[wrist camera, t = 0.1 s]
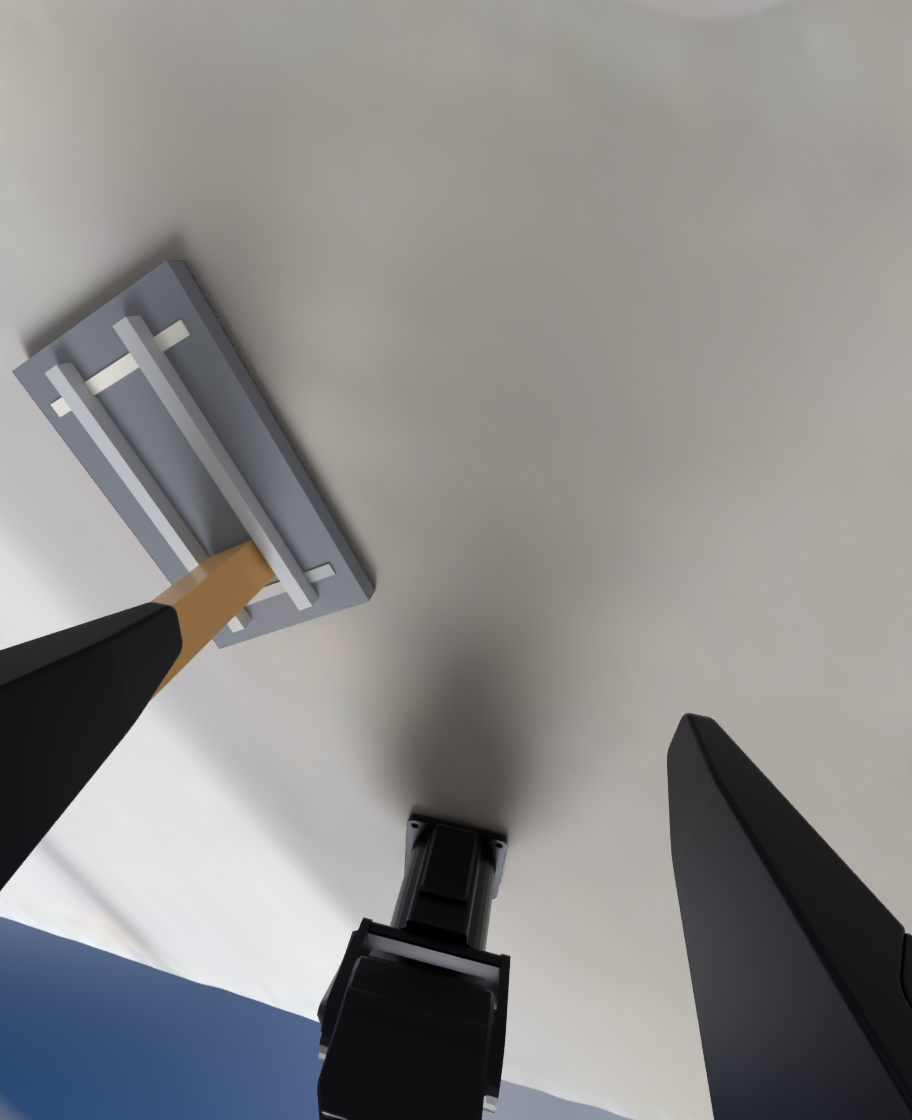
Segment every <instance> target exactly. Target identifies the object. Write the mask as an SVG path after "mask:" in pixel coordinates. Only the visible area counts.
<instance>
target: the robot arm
mask: <svg viewBox="0 0 912 1120" xmlns="http://www.w3.org/2000/svg"><path fill="white" fill-rule="evenodd" d="M182 646H183V639H182V634H181V629H180V624H179V619H178V614H177V611H176V609H175V608H174V607H172V606H171V605H166V604H161V603H157V602H149V603H145V604H142V605H139V606H136V607H133V608H130V609H127V610H124V611H121V612H118V613H114V614H111V615H108V616H105V617H102V618H99V619H96V620H93V621H90V622H87V623H83V624H80V625H77V626H74V627H71V628H68V629H65V630H62V631H59V632H56V633H52V634H49V635H46V636H43V637H40V638H37V639H34V640H31V641H28V642H25V643H21V644H18V645H15V646H12V647H9V648H6V649H3V650H0V891H1V890H2V888H3V887H4V886H5V885H6V883H7V882H8V881H9V880H10V878H11V877H12V876H13V875H14V873H15V872H16V871H17V870H18V868H19V867H20V866H21V865H22V863H23V862H24V861H25V860H26V859H27V857H28V856H29V855H30V854H31V852H32V851H33V850H34V849H35V847H36V846H37V845H38V844H39V842H40V841H41V840H42V839H43V837H44V836H45V835H46V834H47V832H48V831H49V830H50V829H51V827H52V826H53V825H54V824H55V822H56V821H57V820H58V819H59V817H60V816H61V815H62V814H63V812H64V811H65V810H66V809H67V807H68V806H69V805H70V804H71V802H72V801H73V800H74V799H75V797H76V796H77V795H78V794H79V792H80V791H81V790H82V789H83V788H84V786H85V785H86V784H87V783H88V781H89V780H90V779H91V778H92V776H93V775H94V774H95V773H96V771H97V770H98V769H99V768H100V766H101V765H102V764H103V763H104V761H105V760H106V759H107V758H108V756H109V755H110V754H111V753H112V751H113V750H114V749H115V748H116V746H117V745H118V744H119V743H120V741H121V740H122V739H123V738H124V736H125V735H126V734H127V732H128V731H129V730H130V729H131V727H132V726H133V725H134V723H135V722H136V720H137V719H138V717H139V716H140V715H141V713H142V712H143V710H144V709H145V707H146V706H147V704H148V702H149V701H150V699H151V698H152V696H153V695H154V693H155V692H156V690H157V689H158V687H159V686H160V684H161V683H162V681H163V680H164V678H165V677H166V675H167V673H168V672H169V670H170V669H171V667H172V666H173V664H174V663H175V661H176V660H177V658H178V657H179V655H180V653H181V650H182ZM667 775H668V796H669V817H670V839H671V853H672V861H673V868H674V875H675V881H676V887H677V893H678V899H679V906H680V912H681V918H682V924H683V930H684V937H685V943H686V949H687V955H688V961H689V967H690V974H691V980H692V986H693V992H694V998H695V1004H696V1011H697V1017H698V1023H699V1029H700V1035H701V1042H702V1048H703V1054H704V1060H705V1066H706V1072H707V1079H708V1085H709V1091H710V1097H711V1103H712V1109H713V1116H714V1120H912V935H911V934H908V933H905V929H904V927H903V926H902V924H901V923H900V922H899V921H898V920H897V919H896V918H895V917H894V916H893V915H892V914H891V912H890V911H889V910H888V909H887V908H886V907H885V906H884V905H883V904H882V903H881V901H880V900H879V899H878V898H877V897H876V896H875V895H874V894H873V893H872V892H871V891H870V889H869V888H868V887H867V886H866V885H865V884H864V883H863V882H862V881H861V880H860V879H859V877H858V876H857V875H856V874H855V873H854V872H853V871H852V870H851V869H850V868H849V867H848V865H847V864H846V863H845V862H844V861H843V860H842V859H841V858H840V857H839V856H838V855H837V853H836V852H835V851H834V850H833V849H832V848H831V847H830V846H829V845H828V844H827V842H826V841H825V840H824V839H823V838H822V837H821V836H820V835H819V834H818V833H817V832H816V830H815V829H814V828H813V827H812V826H811V825H810V824H809V823H808V822H807V821H806V820H805V818H804V817H803V816H802V815H801V814H800V813H799V812H798V811H797V810H796V809H795V808H794V806H793V805H792V804H791V803H790V802H789V801H788V800H787V799H786V798H785V797H784V796H783V794H782V793H781V792H780V791H779V790H778V789H777V788H776V787H775V786H774V785H773V783H772V782H771V781H770V780H769V779H768V778H767V777H766V776H765V775H764V774H763V773H762V771H761V770H760V769H759V768H758V767H757V766H756V765H755V764H754V763H753V762H752V761H751V759H750V758H749V757H748V756H747V755H746V754H745V753H744V752H743V751H742V750H741V749H740V747H739V746H738V745H737V744H736V743H735V742H734V741H733V740H732V739H731V738H730V737H729V735H728V734H727V733H726V732H725V731H724V730H723V729H722V728H721V727H720V726H719V725H718V723H717V722H716V721H715V720H713V719H712V718H710V717H706V716H702V715H697V714H692V713H687V714H684V716H683V717H682V718H681V720H680V722H679V725H678V727H677V730H676V732H675V734H674V737H673V739H672V741H671V744H670V746H669V749H668V754H667ZM507 843H508V840H507V838H506V837H504V836H502V835H499V834H494V833H490V832H486V831H482V830H477V829H473V828H469V827H465V826H460V825H456V824H452V823H447V822H443V821H439V820H435V819H430V818H426V817H422V816H418V815H411V816H410V817H409V819H408V823H407V835H406V854H405V872H404V874H405V875H404V878H403V882H402V885H401V889H400V892H399V896H398V899H397V903H396V906H395V910H394V913H393V917H392V920H391V924H390V926H387V925H383V924H380V923H376V922H372V919H368V918H363V920H362V922H361V924H360V927H359V929H358V930H356V931H353V932H352V935H351V938H350V941H349V944H348V947H347V950H346V953H345V955H344V958H343V960H342V963H341V965H340V967H339V969H338V971H337V973H336V975H335V977H334V978H333V980H332V982H331V984H330V986H329V988H328V990H327V992H326V993H325V995H324V997H323V999H322V1001H321V1003H320V1006H319V1009H318V1014H317V1015H318V1018H319V1021H320V1024H321V1035H320V1045H319V1057H318V1058H319V1060H322V1061H324V1063H323V1067H322V1070H321V1074H320V1077H319V1081H318V1086H317V1094H318V1106H319V1119H320V1120H482V1111H483V1110H486V1111H489V1112H492V1113H495V1110H496V1107H497V1101H498V1096H499V1089H500V1082H501V1074H502V1066H503V1057H504V1047H505V1035H506V1020H507V1004H508V987H509V971H510V956H508V955H505V954H501V955H497V954H493V953H490V952H486V951H485V948H486V941H487V933H488V926H489V918H490V910H491V903H492V899H495V898H496V897H497V893H498V888H499V883H500V879H501V874H502V869H503V864H504V859H505V855H506V850H507Z"/></svg>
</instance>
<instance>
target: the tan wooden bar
mask: <svg viewBox="0 0 912 1120" xmlns="http://www.w3.org/2000/svg"><path fill="white" fill-rule="evenodd" d="M275 575H276V574H275V573H274V571H273V570H272V568H271V567H270V565H269V564H268V562H267V561H266V559H265V558H264V556H263V555H262V553H261V552H260V550H259V549H258V547H257V545H256V544H255V542H254V541H253V539H252V540H250V541H247V542H245V543H242V544H240V545H238V546H235V547H233V548H230V549H228V550H225V551H223V552H221V553H218V554H216V555H213V556H211V557H209V558H207V559H206V560H205V561H203V562H202V563H201V564H199V565H198V566H197V567H196V568H194V569H193V570H192V571H190V572H189V573H188V574H186V575H185V576H184V577H183V578H181V579H180V580H179V581H177V582H176V583H175V584H173V585H172V586H171V587H169V588H168V589H167V590H166V591H164V592H163V593H162V594H160V595H159V596H158V597H156V598H155V599H154V600H153V601H151V602H157V603H161V604H166V605H171V606H172V607H174V608H175V609H176V611H177V614H178V619H179V624H180V629H181V634H182V639H183V646H182V650H181V653H180V655H179V657H178V658H177V660H176V661H175V663H174V664H173V666H172V667H171V669H170V670H169V672H168V673H167V675H166V677H165V678H164V680H163V681H162V683H161V684H160V686H159V687H158V689H157V690H156V692H155V693H154V695H153V696H152V698H153V697H154V696H155V695H156V694H157V693H158V692H159V691H160V690H161V689H162V688H163V687H164V686H165V685H166V684H167V683H168V682H169V681H170V680H171V679H172V678H173V677H174V676H175V675H176V674H177V673H178V672H179V671H180V670H181V669H182V668H183V667H184V666H185V665H186V664H187V663H188V662H189V661H190V660H191V659H192V658H193V657H194V656H195V655H196V654H197V653H198V652H199V651H200V650H201V649H202V648H203V647H204V646H205V645H206V644H207V643H208V642H209V641H210V640H211V639H212V638H213V637H214V636H215V635H216V634H217V633H218V632H219V631H220V630H221V629H222V628H223V627H224V626H225V625H226V624H227V623H228V622H229V621H230V620H231V619H232V618H233V617H234V616H235V615H236V614H237V613H238V612H239V611H240V610H241V609H242V608H243V607H244V606H245V605H246V604H247V603H248V602H249V601H250V600H251V599H252V598H253V597H254V596H255V595H256V594H257V593H258V592H259V591H260V590H261V589H262V588H263V587H264V586H265V585H266V584H267V583H268V582H269V581H270V580H271V579H272V578H273V577H274V576H275ZM152 698H151V699H152ZM151 699H150V700H151Z"/></svg>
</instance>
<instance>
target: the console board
mask: <svg viewBox="0 0 912 1120" xmlns="http://www.w3.org/2000/svg"><path fill="white" fill-rule="evenodd" d="M12 372H13V373H14V375H15V376H16V377H17V379H18V380H19V381H20V383H21V384H22V385H23V387H24V388H25V389H26V391H27V392H28V393H29V395H30V396H31V397H32V399H33V400H34V402H35V403H36V404H37V406H38V407H39V408H40V410H41V411H42V412H43V414H44V415H45V416H46V418H47V419H48V420H49V422H50V423H51V424H52V426H53V427H54V428H55V430H56V431H57V432H58V434H59V435H60V436H61V438H62V439H63V440H64V442H65V443H66V444H67V446H68V447H69V448H70V450H71V451H72V452H73V454H74V455H75V456H76V458H77V459H78V460H79V462H80V463H81V464H82V466H83V467H84V468H85V470H86V471H87V472H88V474H89V475H90V476H91V478H92V479H93V480H94V482H95V483H96V484H97V486H98V487H99V488H100V490H101V491H102V492H103V494H104V495H105V496H106V498H107V499H108V500H109V502H110V503H111V504H112V506H113V507H114V508H115V510H116V511H117V512H118V514H119V515H120V516H121V518H122V519H123V520H124V522H125V523H126V524H127V526H128V527H129V528H130V530H131V531H132V532H133V534H134V535H135V536H136V538H137V539H138V540H139V542H140V543H141V545H142V546H143V547H144V549H145V550H146V551H147V553H148V554H149V555H150V557H151V558H152V559H153V561H154V562H155V563H156V565H157V566H158V567H159V569H160V570H161V571H162V573H163V574H164V575H165V577H166V578H167V579H168V581H169V582H170V583H171V585H173V584H175V583H176V582H177V581H179V580H180V579H181V578H183V577H184V576H185V575H186V574H188V573H189V572H190V571H192V570H193V569H194V568H196V567H197V566H198V565H199V564H201V563H202V562H203V561H205V560H206V559H207V558H209V557H211V556H213V555H216V554H218V553H221V552H223V551H225V550H228V549H230V548H233V547H235V546H238V545H240V544H242V543H245V542H247V541H250V540H252V539H253V541H254V542H255V544H256V545H257V547H258V549H259V550H260V552H261V553H262V555H263V556H264V558H265V559H266V561H267V562H268V564H269V565H270V567H271V568H272V570H273V571H274V573H275V574H276V575H275V576H274V577H273V578H272V579H271V580H270V581H269V582H268V583H267V584H266V585H265V586H264V587H263V588H262V589H261V590H260V591H259V592H258V593H257V594H256V595H255V596H254V597H253V598H252V599H251V600H250V601H249V602H248V603H247V604H246V605H245V606H244V607H243V608H242V609H241V610H240V611H239V612H238V613H237V614H236V615H235V616H234V617H233V618H232V619H231V620H230V621H229V622H228V623H227V624H226V625H225V626H224V627H223V628H222V629H221V630H220V631H219V632H218V633H217V634H216V635H215V636H214V637H213V638H212V639H213V641H214V642H215V643H216V645H217V646H218V647H219V649H221V648H224V647H227V646H230V645H233V644H237V643H240V642H243V641H246V640H249V639H252V638H255V637H258V636H261V635H264V634H268V633H271V632H274V631H277V630H280V629H283V628H286V627H289V626H292V625H296V624H299V623H302V622H305V621H308V620H311V619H314V618H317V617H320V616H323V615H327V614H330V613H333V612H336V611H339V610H342V609H345V608H348V607H351V606H354V605H358V604H361V603H364V602H367V601H369V600H370V598H371V597H372V595H373V593H374V592H375V589H374V587H373V585H372V584H371V582H370V580H369V578H368V577H367V575H366V573H365V572H364V570H363V568H362V566H361V565H360V563H359V561H358V560H357V558H356V556H355V554H354V553H353V551H352V549H351V548H350V546H349V544H348V542H347V541H346V539H345V537H344V536H343V534H342V532H341V530H340V529H339V527H338V525H337V524H336V522H335V520H334V518H333V517H332V515H331V513H330V511H329V510H328V508H327V506H326V505H325V503H324V501H323V499H322V498H321V496H320V494H319V493H318V491H317V489H316V487H315V486H314V484H313V482H312V481H311V479H310V477H309V475H308V474H307V472H306V470H305V469H304V467H303V465H302V463H301V462H300V460H299V458H298V457H297V455H296V453H295V451H294V450H293V448H292V446H291V445H290V443H289V441H288V439H287V438H286V436H285V434H284V433H283V431H282V429H281V427H280V426H279V424H278V422H277V421H276V419H275V417H274V415H273V414H272V412H271V410H270V409H269V407H268V405H267V403H266V402H265V400H264V398H263V397H262V395H261V393H260V391H259V390H258V388H257V386H256V385H255V383H254V381H253V379H252V378H251V376H250V374H249V372H248V371H247V369H246V367H245V366H244V364H243V362H242V360H241V359H240V357H239V355H238V354H237V352H236V350H235V348H234V347H233V345H232V343H231V342H230V340H229V338H228V336H227V335H226V333H225V331H224V330H223V328H222V326H221V324H220V323H219V321H218V319H217V318H216V316H215V314H214V312H213V311H212V309H211V307H210V306H209V304H208V302H207V300H206V299H205V297H204V295H203V294H202V292H201V290H200V288H199V287H198V285H197V283H196V282H195V280H194V278H193V276H192V275H191V273H190V271H189V270H188V268H187V266H186V264H185V263H184V261H182V260H165V261H164V262H163V263H161V264H160V265H158V266H157V267H156V268H154V269H153V270H152V271H150V272H149V273H147V274H146V275H145V276H143V277H142V278H140V279H139V280H138V281H136V282H135V283H134V284H132V285H131V286H129V287H128V288H127V289H125V290H124V291H122V292H121V293H120V294H118V295H117V296H116V297H114V298H113V299H111V300H110V301H109V302H107V303H106V304H104V305H103V306H102V307H100V308H99V309H98V310H96V311H95V312H93V313H92V314H91V315H89V316H88V317H86V318H85V319H84V320H82V321H81V322H80V323H78V324H77V325H75V326H74V327H73V328H71V329H70V330H69V331H67V332H66V333H64V334H63V335H62V336H60V337H59V338H57V339H56V340H55V341H53V342H52V343H51V344H49V345H48V346H46V347H45V348H44V349H42V350H41V351H39V352H38V353H37V354H35V355H34V356H33V357H31V358H30V359H28V360H27V361H26V362H24V363H23V364H21V365H20V366H19V367H17V368H16V369H15V370H13V371H12Z"/></svg>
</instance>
